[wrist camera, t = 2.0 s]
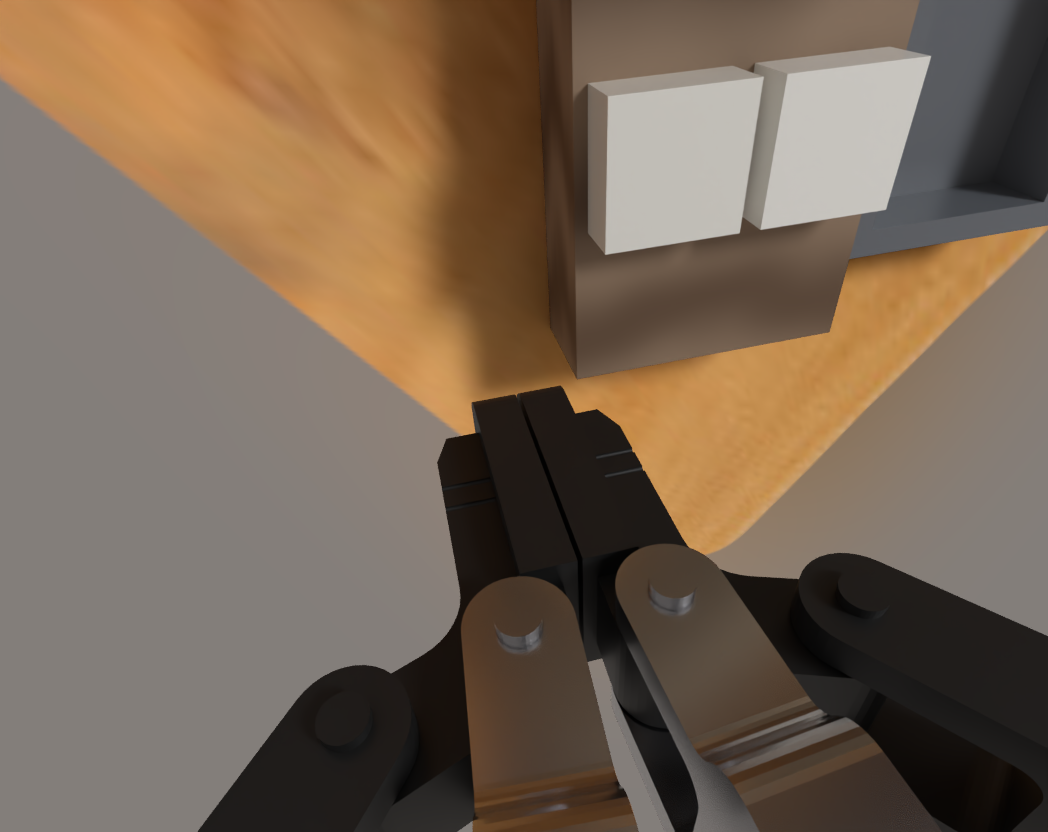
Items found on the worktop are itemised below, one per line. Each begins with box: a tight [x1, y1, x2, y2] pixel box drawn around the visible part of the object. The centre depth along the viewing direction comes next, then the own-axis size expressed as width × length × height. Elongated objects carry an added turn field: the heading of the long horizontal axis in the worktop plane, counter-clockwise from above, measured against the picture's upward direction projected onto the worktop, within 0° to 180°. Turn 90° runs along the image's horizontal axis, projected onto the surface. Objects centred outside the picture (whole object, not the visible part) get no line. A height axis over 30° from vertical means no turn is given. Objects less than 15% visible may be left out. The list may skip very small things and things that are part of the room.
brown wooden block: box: [536, 0, 920, 379], centre depth 24 cm, size 18×12×4 cm, turn 4°
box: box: [849, 0, 1048, 259], centre depth 26 cm, size 14×11×4 cm
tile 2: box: [742, 47, 931, 230], centre depth 22 cm, size 5×5×2 cm
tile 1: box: [588, 66, 764, 255], centre depth 21 cm, size 5×5×2 cm
